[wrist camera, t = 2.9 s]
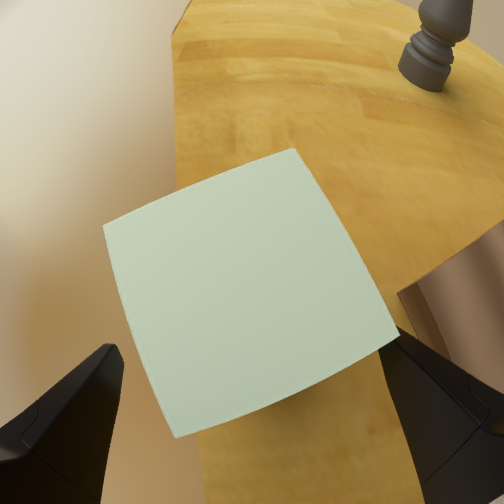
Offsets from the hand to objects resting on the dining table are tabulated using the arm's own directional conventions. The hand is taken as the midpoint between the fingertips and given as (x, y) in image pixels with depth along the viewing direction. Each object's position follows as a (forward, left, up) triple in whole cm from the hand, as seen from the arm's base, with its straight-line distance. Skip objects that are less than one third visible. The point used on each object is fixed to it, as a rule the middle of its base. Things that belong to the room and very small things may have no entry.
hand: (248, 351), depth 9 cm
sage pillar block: (+1, +1, -9) cm, 9 cm away
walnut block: (+16, -7, -9) cm, 20 cm away
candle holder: (+31, +18, -9) cm, 37 cm away
